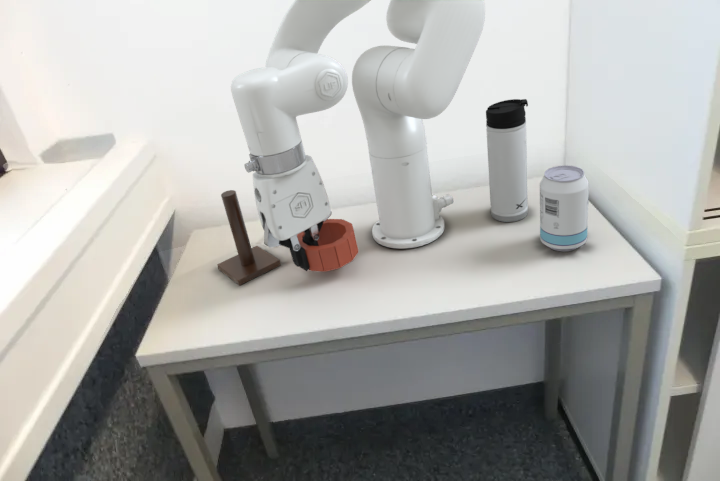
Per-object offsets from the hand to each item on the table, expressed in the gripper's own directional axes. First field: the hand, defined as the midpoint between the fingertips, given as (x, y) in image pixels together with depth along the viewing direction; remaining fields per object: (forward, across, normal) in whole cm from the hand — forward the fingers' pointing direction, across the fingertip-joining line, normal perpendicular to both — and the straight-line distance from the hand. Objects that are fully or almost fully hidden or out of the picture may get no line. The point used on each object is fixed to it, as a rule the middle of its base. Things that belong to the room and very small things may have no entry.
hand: (308, 263), depth 95 cm
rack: (+3, -5, +12) cm, 13 cm away
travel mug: (+5, +35, -11) cm, 37 cm away
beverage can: (+5, +32, -24) cm, 40 cm away
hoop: (+1, +4, 0) cm, 4 cm away
